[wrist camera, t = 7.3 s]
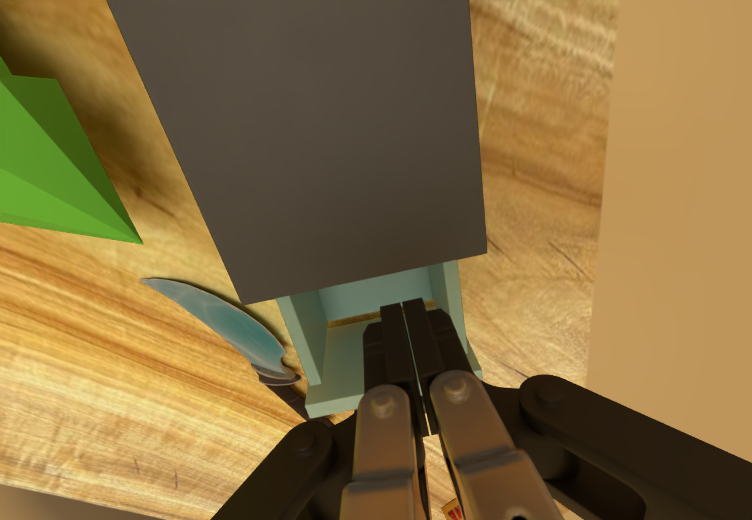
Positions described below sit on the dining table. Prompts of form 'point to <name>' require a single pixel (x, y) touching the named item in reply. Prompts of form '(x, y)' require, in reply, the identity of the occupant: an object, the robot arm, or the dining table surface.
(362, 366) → the drawer
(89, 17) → the dining table surface
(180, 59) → the cabinet
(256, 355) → the knife
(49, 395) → the dining table surface
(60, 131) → the decorative tree
